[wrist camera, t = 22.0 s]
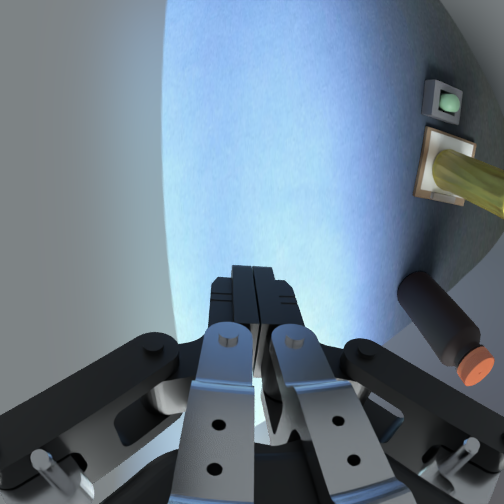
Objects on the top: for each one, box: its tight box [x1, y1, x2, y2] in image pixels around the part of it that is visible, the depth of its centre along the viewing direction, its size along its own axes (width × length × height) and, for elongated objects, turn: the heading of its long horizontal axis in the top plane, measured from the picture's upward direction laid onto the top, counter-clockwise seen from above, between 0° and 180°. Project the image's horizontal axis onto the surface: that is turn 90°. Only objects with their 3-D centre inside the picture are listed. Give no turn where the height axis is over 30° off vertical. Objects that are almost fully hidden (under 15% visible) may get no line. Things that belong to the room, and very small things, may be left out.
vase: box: [432, 149, 504, 219], centre depth 31 cm, size 6×6×14 cm
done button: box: [438, 94, 460, 112], centre depth 32 cm, size 2×2×3 cm
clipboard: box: [413, 126, 476, 206], centre depth 37 cm, size 10×10×1 cm
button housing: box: [421, 80, 463, 125], centre depth 33 cm, size 5×5×2 cm
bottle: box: [397, 271, 494, 386], centre depth 37 cm, size 7×7×20 cm
